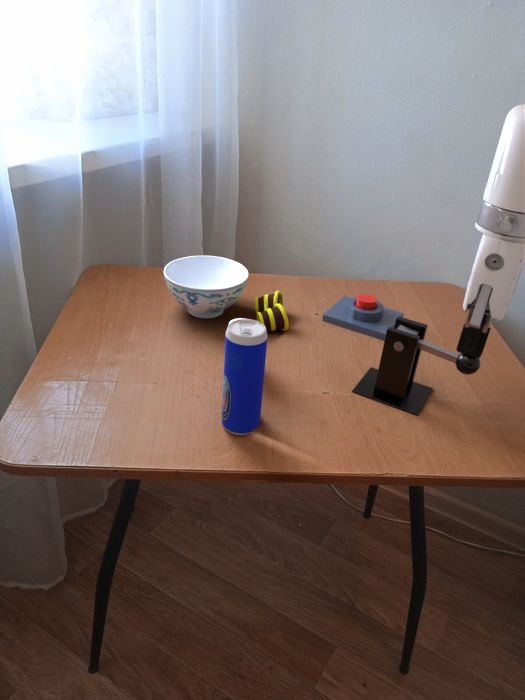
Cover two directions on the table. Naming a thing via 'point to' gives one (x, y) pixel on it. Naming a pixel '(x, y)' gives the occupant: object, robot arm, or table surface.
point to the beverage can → (243, 375)
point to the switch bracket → (397, 371)
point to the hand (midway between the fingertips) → (469, 352)
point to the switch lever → (447, 354)
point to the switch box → (361, 317)
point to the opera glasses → (271, 311)
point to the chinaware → (205, 283)
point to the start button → (366, 302)
